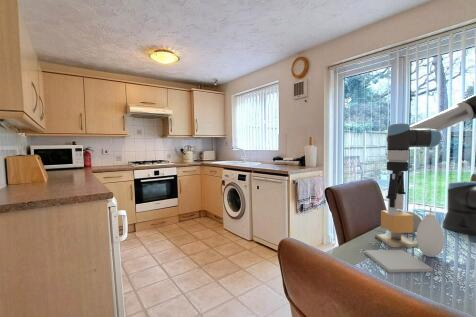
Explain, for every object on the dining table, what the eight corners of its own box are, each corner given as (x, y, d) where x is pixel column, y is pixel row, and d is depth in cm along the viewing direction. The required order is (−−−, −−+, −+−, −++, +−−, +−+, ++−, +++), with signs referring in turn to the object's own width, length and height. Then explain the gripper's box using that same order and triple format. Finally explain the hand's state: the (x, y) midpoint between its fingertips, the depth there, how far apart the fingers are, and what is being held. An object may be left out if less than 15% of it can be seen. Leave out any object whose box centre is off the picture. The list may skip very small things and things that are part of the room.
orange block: (398, 226, 103) (399, 210, 103) (412, 232, 95) (413, 215, 95) (380, 226, 103) (381, 210, 103) (393, 232, 95) (393, 215, 95)
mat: (401, 252, 89) (401, 249, 89) (432, 271, 75) (432, 268, 75) (364, 253, 89) (364, 250, 89) (389, 272, 75) (389, 269, 75)
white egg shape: (447, 262, 81) (448, 210, 80) (418, 258, 84) (419, 208, 84) (439, 253, 88) (441, 205, 87) (413, 249, 91) (414, 203, 91)
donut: (422, 234, 108) (423, 212, 107) (421, 236, 105) (422, 214, 105) (396, 229, 114) (396, 208, 114) (395, 231, 112) (395, 210, 111)
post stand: (399, 236, 105) (400, 211, 105) (419, 246, 94) (419, 218, 94) (375, 236, 105) (375, 211, 104) (392, 247, 94) (392, 219, 93)
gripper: (393, 159, 110) (391, 205, 111) (379, 161, 92) (377, 216, 92) (413, 160, 105) (411, 208, 105) (402, 162, 86) (400, 220, 87)
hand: (395, 212), depth 99 cm, fingers open, 13 cm apart
